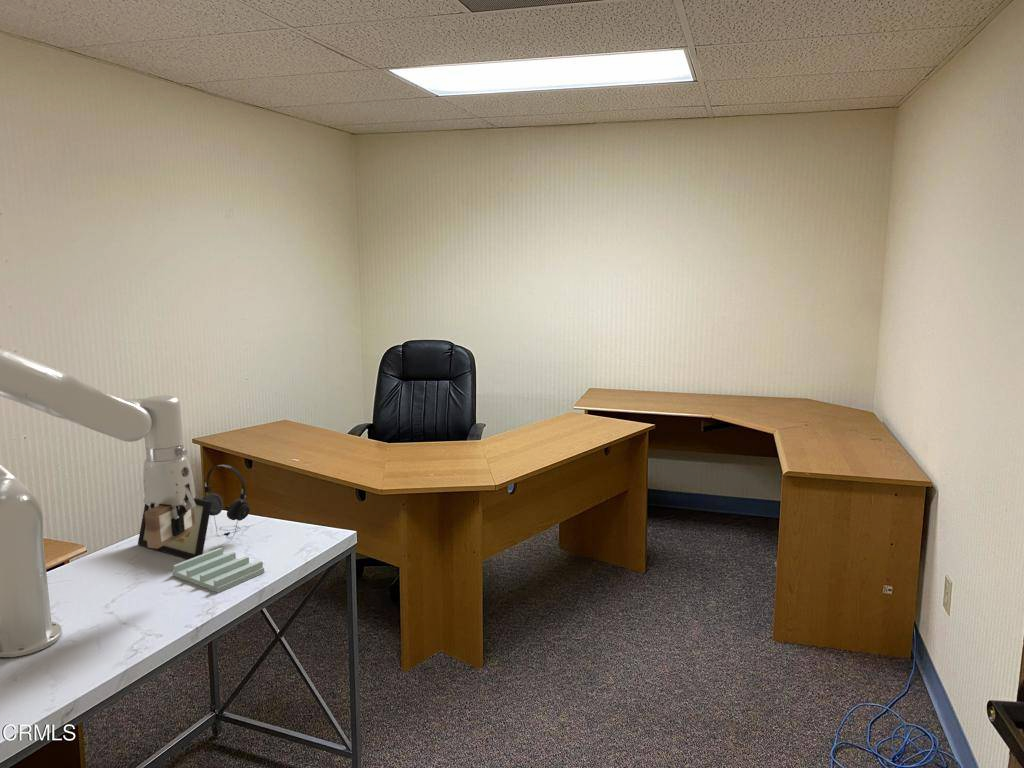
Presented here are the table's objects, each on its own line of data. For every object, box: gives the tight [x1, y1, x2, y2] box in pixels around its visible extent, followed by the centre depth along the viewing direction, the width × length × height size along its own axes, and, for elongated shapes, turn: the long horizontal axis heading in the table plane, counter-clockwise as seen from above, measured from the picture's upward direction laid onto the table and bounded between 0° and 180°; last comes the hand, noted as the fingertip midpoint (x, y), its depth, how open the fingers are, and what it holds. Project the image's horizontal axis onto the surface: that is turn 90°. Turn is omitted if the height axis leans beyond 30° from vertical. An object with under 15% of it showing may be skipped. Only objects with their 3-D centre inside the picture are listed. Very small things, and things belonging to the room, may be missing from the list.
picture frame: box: [137, 497, 212, 560], centre depth 193 cm, size 23×9×15 cm, turn 62°
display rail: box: [172, 547, 265, 594], centre depth 178 cm, size 13×17×3 cm
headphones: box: [202, 464, 251, 538], centre depth 202 cm, size 15×11×20 cm
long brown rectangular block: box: [143, 500, 195, 550], centre depth 162 cm, size 12×3×8 cm, turn 164°
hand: (172, 532), depth 163 cm, fingers closed on long brown rectangular block, 2 cm apart
